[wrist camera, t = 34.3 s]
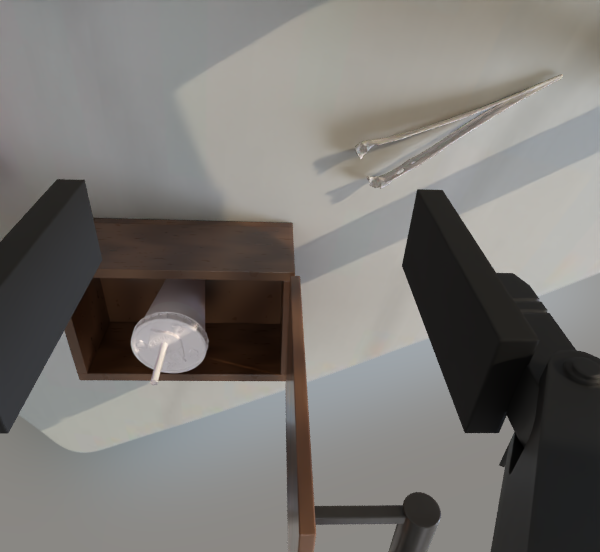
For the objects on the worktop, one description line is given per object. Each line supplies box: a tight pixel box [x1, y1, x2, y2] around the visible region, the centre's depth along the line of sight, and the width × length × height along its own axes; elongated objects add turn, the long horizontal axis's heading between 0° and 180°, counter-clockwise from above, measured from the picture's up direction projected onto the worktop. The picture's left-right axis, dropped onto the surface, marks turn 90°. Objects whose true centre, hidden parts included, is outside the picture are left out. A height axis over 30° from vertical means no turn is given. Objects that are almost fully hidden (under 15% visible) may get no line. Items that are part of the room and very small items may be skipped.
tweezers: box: [355, 75, 563, 189], centre depth 41 cm, size 17×5×2 cm, turn 115°
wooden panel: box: [286, 276, 441, 552], centre depth 34 cm, size 21×13×8 cm
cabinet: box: [65, 218, 295, 381], centre depth 46 cm, size 20×13×8 cm, turn 87°
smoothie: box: [131, 279, 209, 385], centre depth 43 cm, size 6×6×14 cm
